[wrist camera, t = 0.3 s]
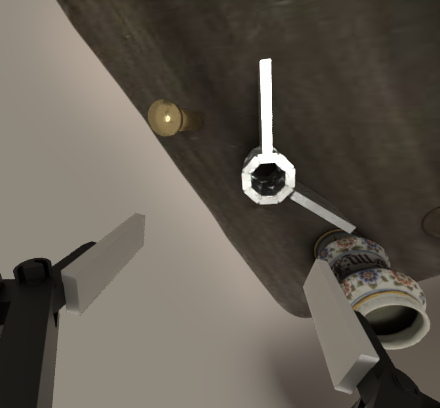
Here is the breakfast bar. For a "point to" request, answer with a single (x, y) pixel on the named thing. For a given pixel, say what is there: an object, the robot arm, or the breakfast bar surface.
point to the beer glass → (432, 223)
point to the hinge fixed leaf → (266, 149)
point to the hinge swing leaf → (309, 200)
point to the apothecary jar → (376, 288)
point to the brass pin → (172, 118)
